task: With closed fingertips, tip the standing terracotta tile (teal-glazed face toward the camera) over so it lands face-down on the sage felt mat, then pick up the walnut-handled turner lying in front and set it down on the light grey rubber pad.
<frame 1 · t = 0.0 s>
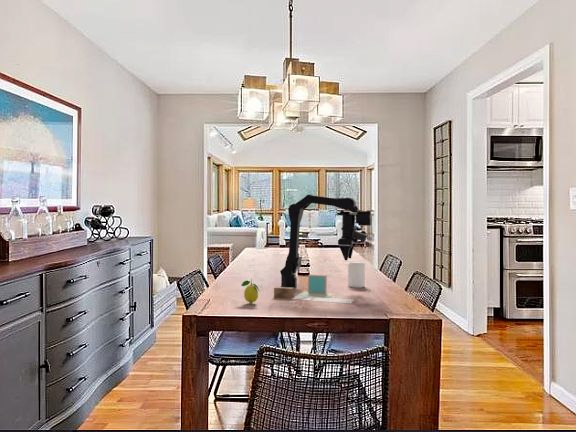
hand: (348, 259, 237), 15 cm above the table, fingers open, 9 cm apart
turner: (284, 298, 219), on the table
tool pad: (333, 301, 213), on the table
tile: (317, 293, 229), resting on felt mat
grey cylinder: (356, 287, 250), on the table
lemon: (250, 304, 206), on the table
felt mat: (315, 295, 225), on the table
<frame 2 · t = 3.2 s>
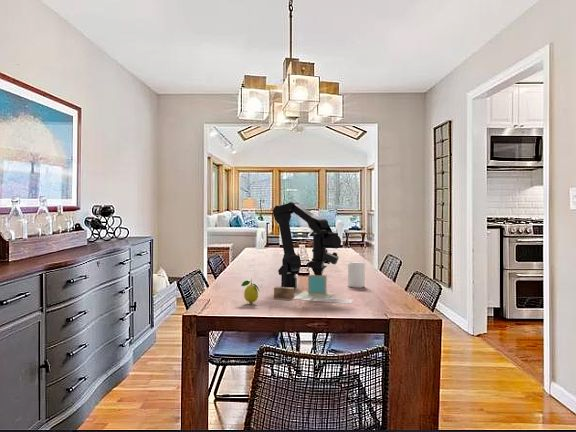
hand: (319, 281, 231), 5 cm above the table, fingers closed
tile: (317, 293, 229), resting on felt mat, touching gripper
everything else where it was.
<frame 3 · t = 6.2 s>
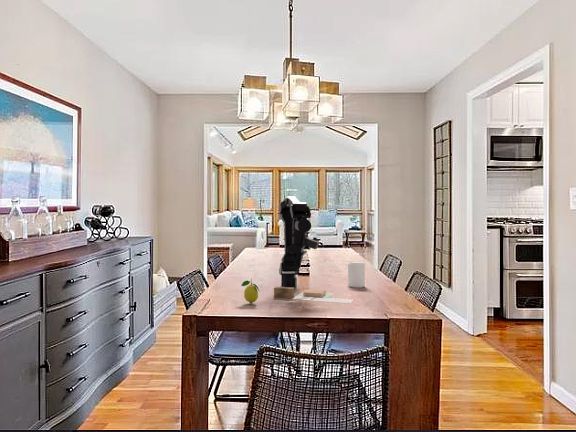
hand: (298, 267, 223), 12 cm above the table, fingers closed
tile: (316, 291, 228), point 1 cm above the table, tilted 90°, touching felt mat
everything else where it was.
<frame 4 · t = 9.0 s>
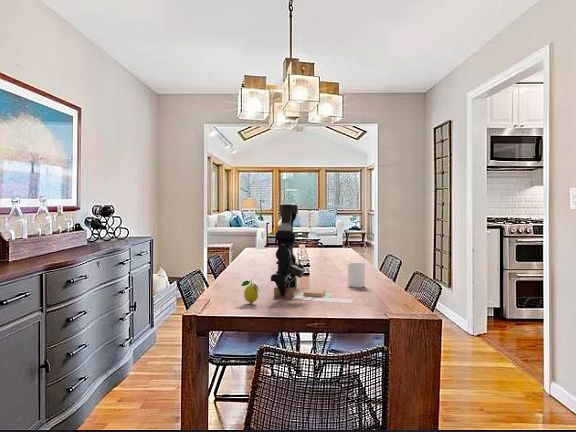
hand: (284, 295, 219), 1 cm above the table, fingers closed on turner, 3 cm apart
turner: (284, 298, 219), on the table, touching gripper
everything else where it was.
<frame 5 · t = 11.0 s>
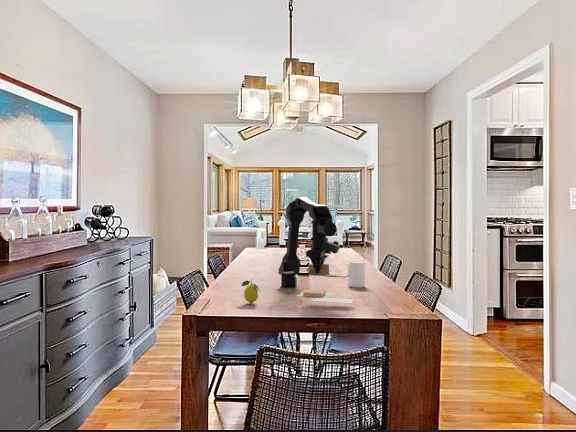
hand: (318, 272, 214), 11 cm above the table, fingers closed on turner, 3 cm apart
turner: (318, 275, 214), point 10 cm above the table, touching gripper
everything else where it was.
when the fingers open (3 cm above the table, at t = 12.9 s): turner drops 2 cm, resting on tool pad.
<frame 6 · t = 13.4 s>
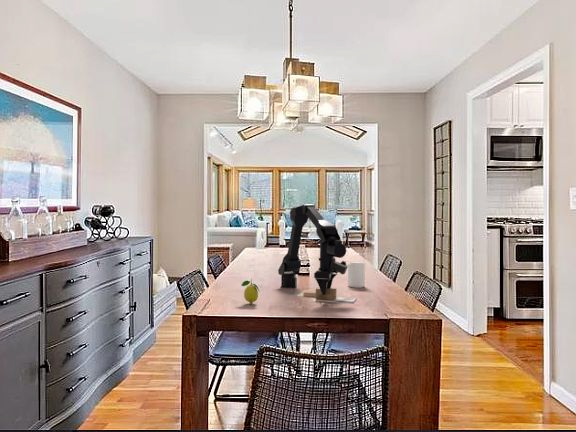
hand: (326, 292, 214), 3 cm above the table, fingers open, 8 cm apart
turner: (326, 299, 214), resting on tool pad
everything else where it was.
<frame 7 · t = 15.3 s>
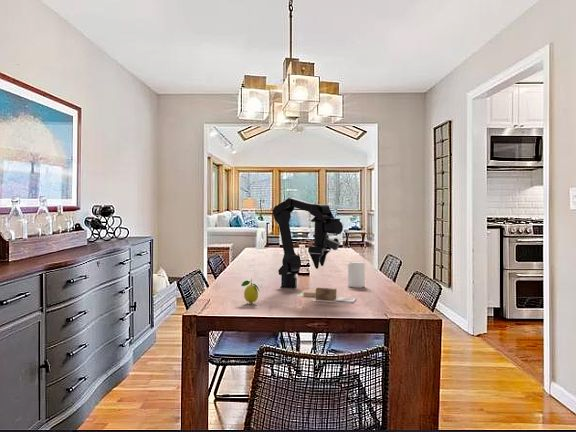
hand: (319, 267, 231), 12 cm above the table, fingers open, 9 cm apart
nothing on the table moved.
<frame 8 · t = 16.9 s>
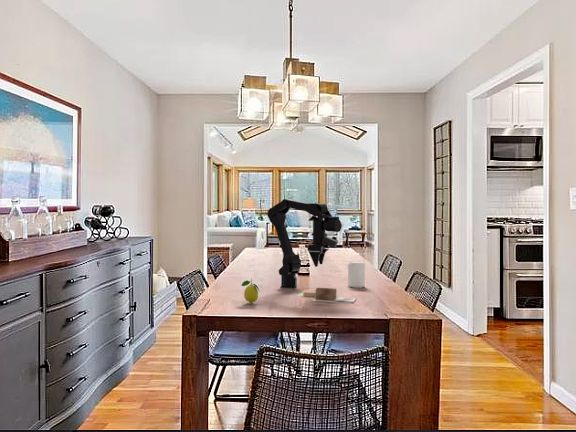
hand: (318, 265, 234), 12 cm above the table, fingers open, 9 cm apart
nothing on the table moved.
at the end: tile tilted 90°; tile inside the target area (2.6 cm from its centre), point 1.3 cm above the table; turner inside the target area (0.6 cm from its centre), resting on tool pad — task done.
